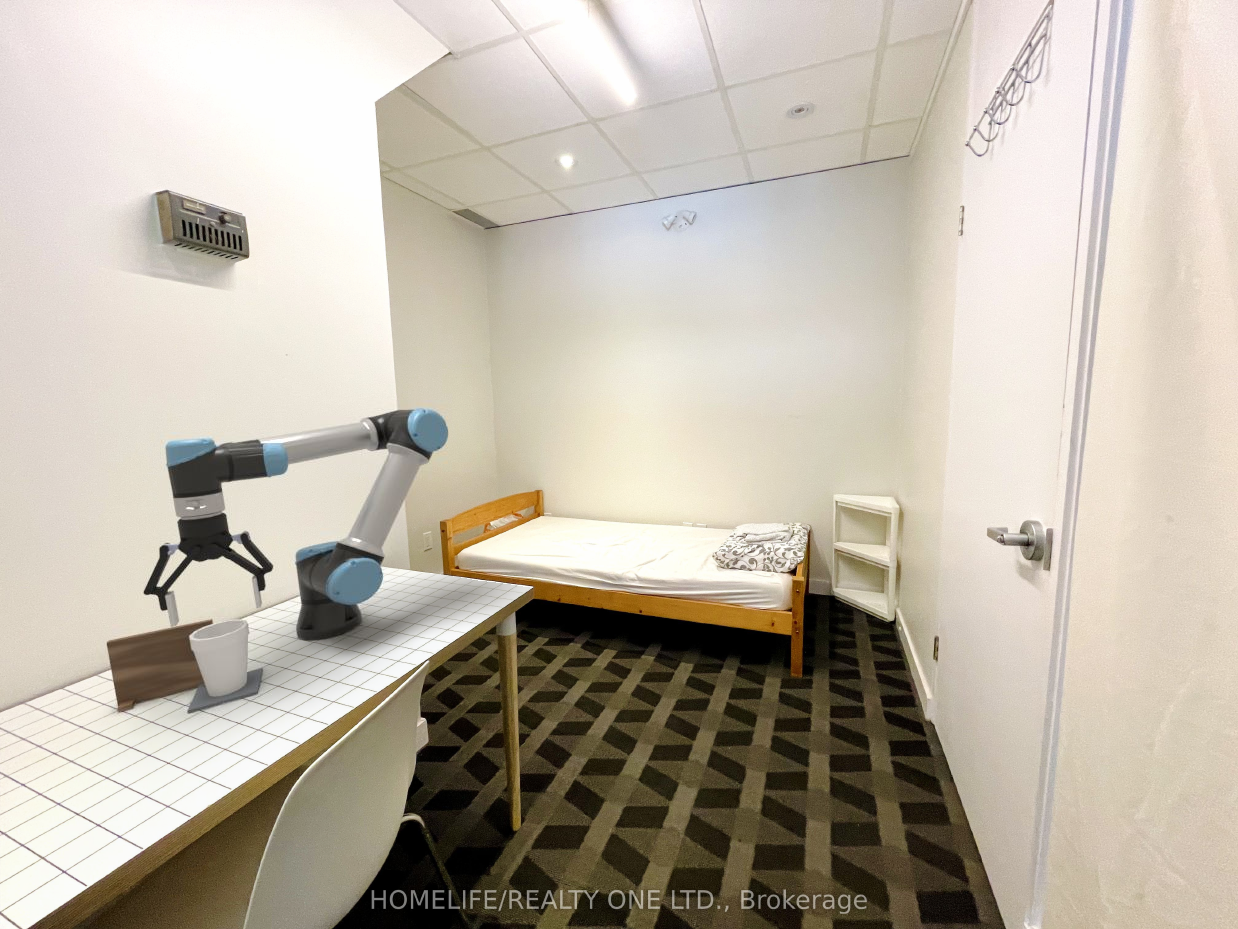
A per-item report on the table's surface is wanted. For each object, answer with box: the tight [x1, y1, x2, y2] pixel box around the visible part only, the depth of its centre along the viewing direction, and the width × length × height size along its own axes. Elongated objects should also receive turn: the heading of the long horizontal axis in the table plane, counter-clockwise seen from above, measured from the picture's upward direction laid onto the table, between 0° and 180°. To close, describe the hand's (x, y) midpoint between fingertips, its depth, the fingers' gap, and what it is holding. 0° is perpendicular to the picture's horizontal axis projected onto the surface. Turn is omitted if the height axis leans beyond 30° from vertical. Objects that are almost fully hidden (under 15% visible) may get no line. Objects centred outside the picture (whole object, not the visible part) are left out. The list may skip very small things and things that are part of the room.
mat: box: [186, 667, 264, 714], centre depth 100 cm, size 11×11×1 cm
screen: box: [106, 618, 214, 714], centre depth 99 cm, size 5×16×14 cm, turn 122°
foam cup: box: [189, 618, 250, 697], centre depth 100 cm, size 10×9×13 cm
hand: (218, 614), depth 99 cm, fingers open, 13 cm apart
